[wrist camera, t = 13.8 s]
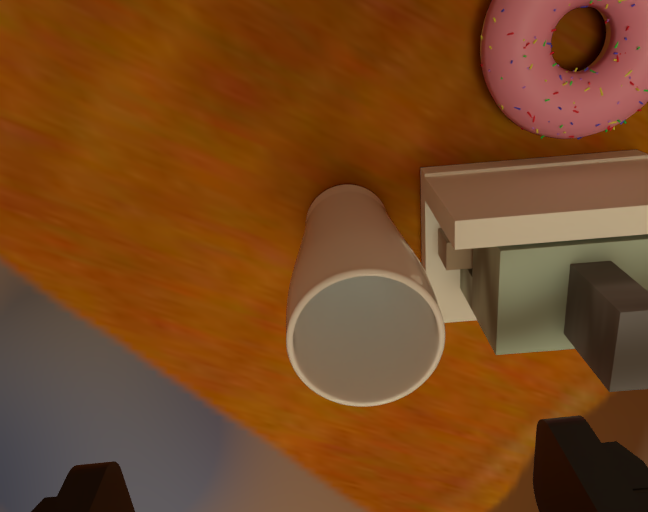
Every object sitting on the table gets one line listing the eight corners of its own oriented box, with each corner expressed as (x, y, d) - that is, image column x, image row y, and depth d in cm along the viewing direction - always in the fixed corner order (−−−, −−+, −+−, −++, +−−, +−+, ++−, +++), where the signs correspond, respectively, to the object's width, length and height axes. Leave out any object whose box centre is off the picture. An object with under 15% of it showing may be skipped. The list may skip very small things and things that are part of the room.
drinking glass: (405, 175, 36) (462, 275, 22) (390, 272, 39) (432, 415, 25) (299, 165, 36) (289, 261, 22) (290, 264, 38) (278, 404, 24)
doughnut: (432, 65, 34) (448, 72, 30) (560, -116, 30) (597, -135, 26) (567, 165, 36) (597, 183, 32) (699, 9, 33) (751, 8, 29)
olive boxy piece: (461, 201, 35) (537, 298, 23) (607, 189, 35) (759, 280, 23) (460, 288, 38) (528, 416, 26) (596, 277, 37) (729, 400, 25)
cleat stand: (420, 167, 36) (455, 217, 27) (636, 149, 36) (742, 193, 27) (422, 313, 40) (453, 397, 31) (616, 297, 40) (701, 377, 31)
